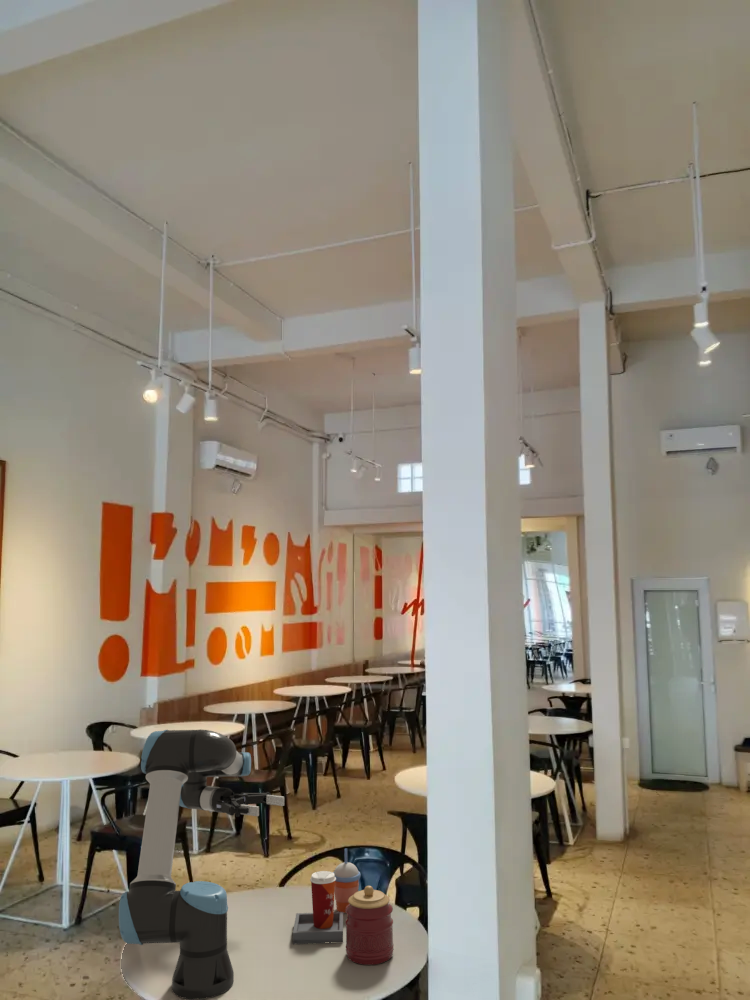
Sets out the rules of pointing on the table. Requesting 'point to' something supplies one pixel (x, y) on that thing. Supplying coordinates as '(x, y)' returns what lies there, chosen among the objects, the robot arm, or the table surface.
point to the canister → (369, 927)
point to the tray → (317, 930)
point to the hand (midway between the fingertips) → (271, 806)
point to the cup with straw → (345, 883)
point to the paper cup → (323, 898)
